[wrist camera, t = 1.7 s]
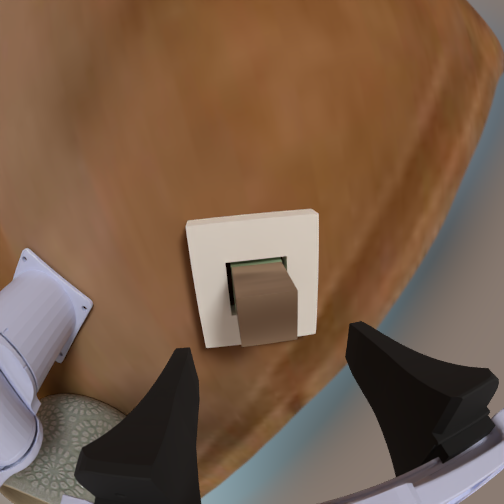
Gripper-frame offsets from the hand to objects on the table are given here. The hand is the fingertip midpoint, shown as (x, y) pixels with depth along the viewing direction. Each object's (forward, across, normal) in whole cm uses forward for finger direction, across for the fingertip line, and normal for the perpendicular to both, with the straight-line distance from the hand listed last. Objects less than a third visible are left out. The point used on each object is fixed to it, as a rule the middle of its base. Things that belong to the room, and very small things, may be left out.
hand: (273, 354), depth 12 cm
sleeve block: (+10, 0, +1) cm, 11 cm away
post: (+10, 0, +1) cm, 11 cm away
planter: (+11, +20, +19) cm, 29 cm away
